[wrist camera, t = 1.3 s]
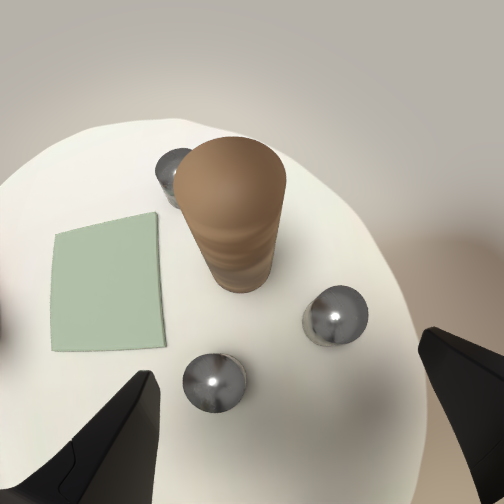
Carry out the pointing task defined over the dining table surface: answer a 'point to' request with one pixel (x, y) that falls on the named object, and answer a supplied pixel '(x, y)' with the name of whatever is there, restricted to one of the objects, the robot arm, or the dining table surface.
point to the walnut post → (233, 207)
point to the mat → (107, 287)
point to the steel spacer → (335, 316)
